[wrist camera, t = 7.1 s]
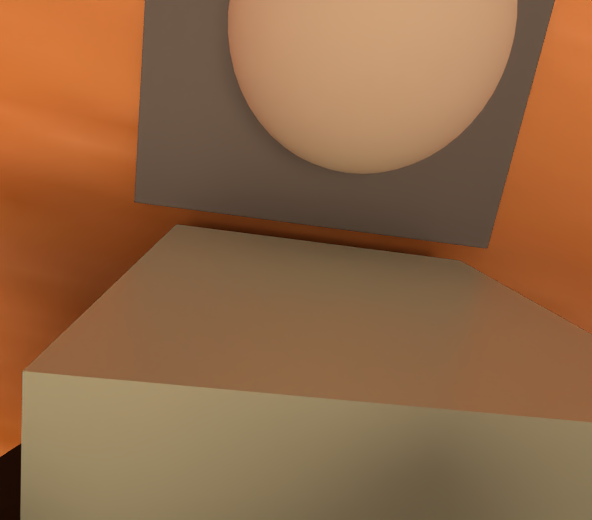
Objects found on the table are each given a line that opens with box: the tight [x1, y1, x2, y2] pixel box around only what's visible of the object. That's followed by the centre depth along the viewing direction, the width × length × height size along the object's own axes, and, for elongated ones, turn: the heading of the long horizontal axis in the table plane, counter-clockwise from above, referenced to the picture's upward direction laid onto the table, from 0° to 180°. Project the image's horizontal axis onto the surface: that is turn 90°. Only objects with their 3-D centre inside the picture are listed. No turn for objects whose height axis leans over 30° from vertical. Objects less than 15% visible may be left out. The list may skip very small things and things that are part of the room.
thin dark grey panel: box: [134, 0, 555, 248], centre depth 9 cm, size 8×8×1 cm
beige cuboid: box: [20, 224, 592, 520], centre depth 7 cm, size 7×6×6 cm
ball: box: [228, 0, 517, 174], centre depth 7 cm, size 4×4×4 cm
